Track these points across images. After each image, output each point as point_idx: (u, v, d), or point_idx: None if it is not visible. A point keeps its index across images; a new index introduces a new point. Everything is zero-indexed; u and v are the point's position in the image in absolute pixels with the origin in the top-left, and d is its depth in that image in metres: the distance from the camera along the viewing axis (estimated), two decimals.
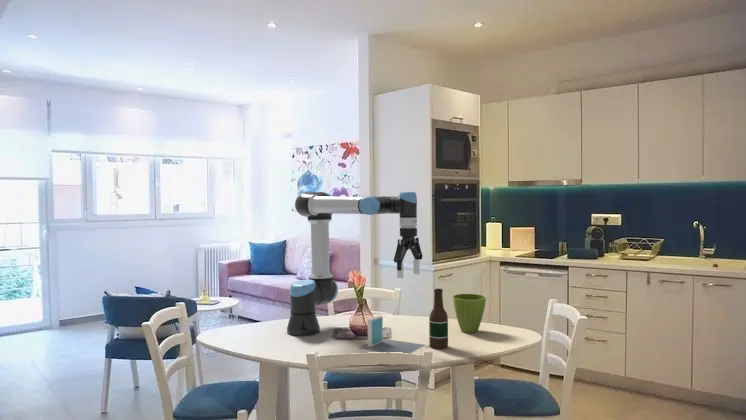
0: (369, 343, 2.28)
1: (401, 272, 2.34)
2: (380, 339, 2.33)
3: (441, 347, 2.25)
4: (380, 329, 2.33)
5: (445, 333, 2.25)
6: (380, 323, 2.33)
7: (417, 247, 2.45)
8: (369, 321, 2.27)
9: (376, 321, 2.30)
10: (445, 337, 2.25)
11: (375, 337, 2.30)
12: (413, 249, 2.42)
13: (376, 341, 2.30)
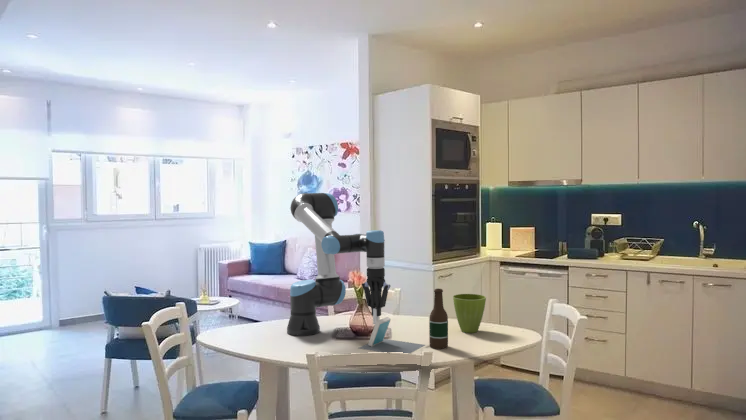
0: (369, 343, 2.28)
1: None
2: (381, 340, 2.33)
3: (441, 347, 2.25)
4: (384, 331, 2.32)
5: (445, 333, 2.25)
6: (386, 325, 2.31)
7: None
8: (377, 323, 2.25)
9: (383, 324, 2.28)
10: (445, 337, 2.25)
11: (377, 338, 2.29)
12: None
13: (377, 342, 2.30)
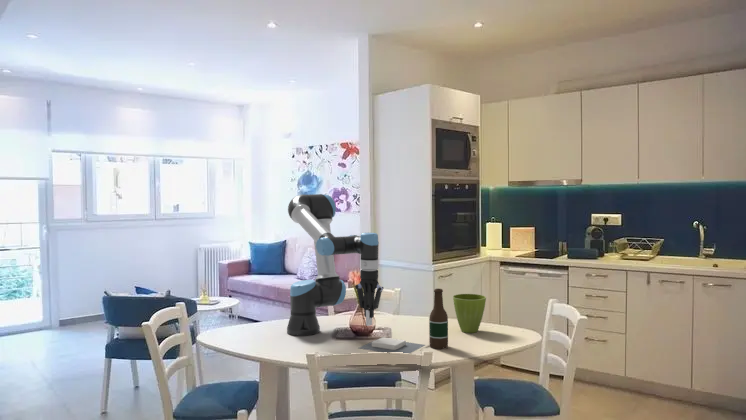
0: (373, 343, 2.27)
1: None
2: None
3: (441, 347, 2.25)
4: None
5: (445, 333, 2.25)
6: None
7: None
8: (393, 347, 2.22)
9: None
10: (445, 337, 2.25)
11: None
12: None
13: None
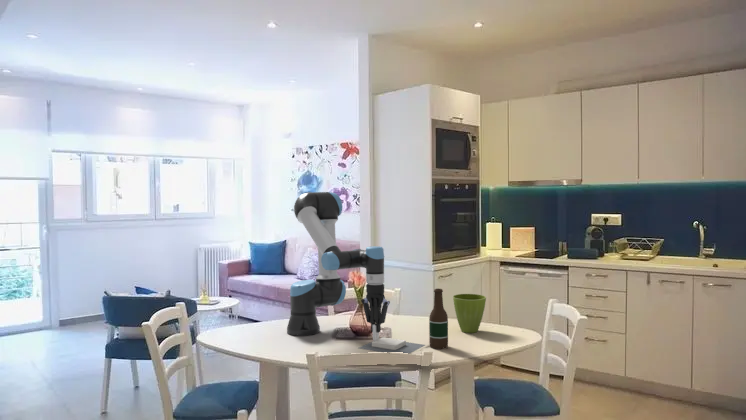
0: (373, 343, 2.27)
1: None
2: None
3: (441, 347, 2.25)
4: None
5: (445, 333, 2.25)
6: None
7: None
8: (393, 347, 2.22)
9: None
10: (445, 337, 2.25)
11: None
12: None
13: None
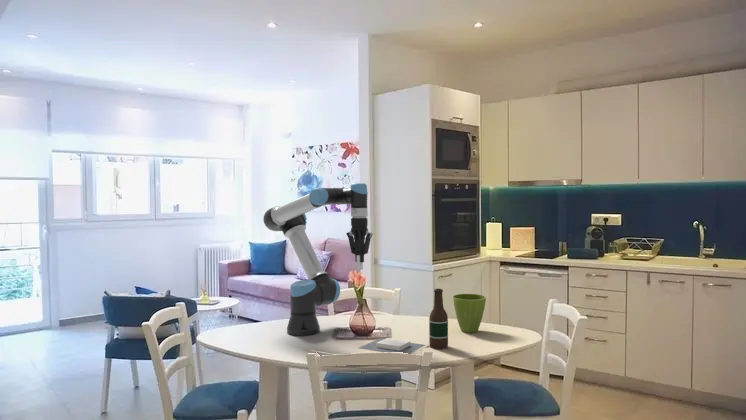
0: (378, 344, 2.25)
1: None
2: None
3: (441, 347, 2.25)
4: None
5: (445, 333, 2.25)
6: None
7: None
8: (398, 348, 2.20)
9: None
10: (445, 337, 2.25)
11: None
12: None
13: None
